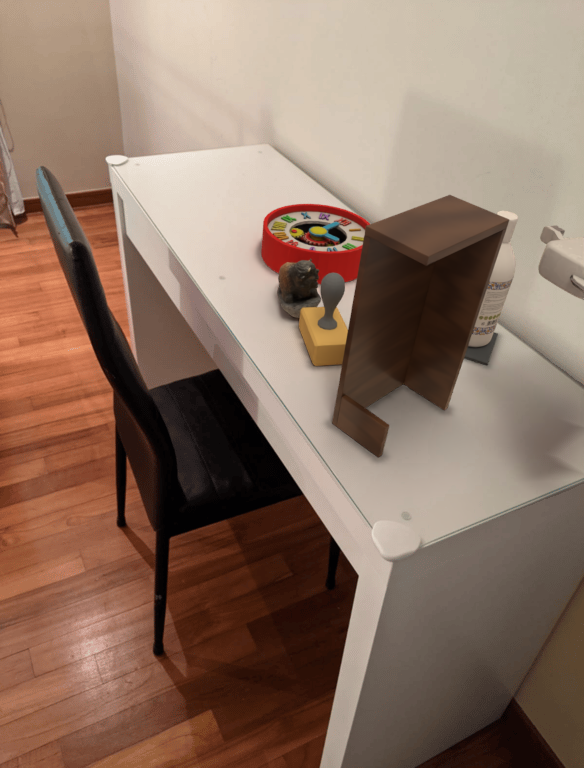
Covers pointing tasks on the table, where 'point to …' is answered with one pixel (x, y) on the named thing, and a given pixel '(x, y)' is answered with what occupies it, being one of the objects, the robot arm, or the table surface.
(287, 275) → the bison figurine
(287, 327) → the table surface
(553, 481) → the table surface
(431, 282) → the cabinet
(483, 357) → the pad
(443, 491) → the table surface
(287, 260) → the toy clock
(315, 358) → the rubber stamp
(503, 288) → the bath foam
